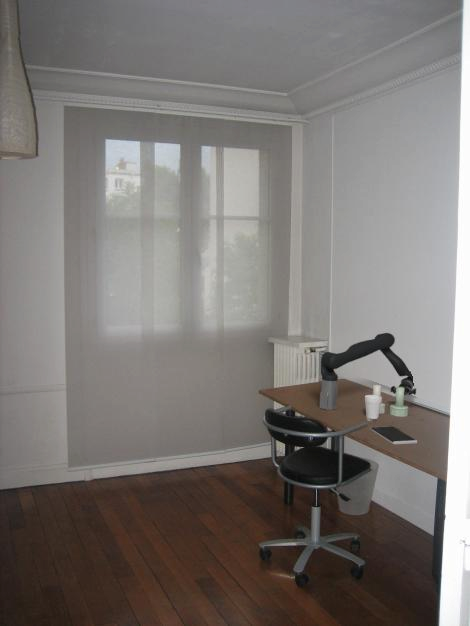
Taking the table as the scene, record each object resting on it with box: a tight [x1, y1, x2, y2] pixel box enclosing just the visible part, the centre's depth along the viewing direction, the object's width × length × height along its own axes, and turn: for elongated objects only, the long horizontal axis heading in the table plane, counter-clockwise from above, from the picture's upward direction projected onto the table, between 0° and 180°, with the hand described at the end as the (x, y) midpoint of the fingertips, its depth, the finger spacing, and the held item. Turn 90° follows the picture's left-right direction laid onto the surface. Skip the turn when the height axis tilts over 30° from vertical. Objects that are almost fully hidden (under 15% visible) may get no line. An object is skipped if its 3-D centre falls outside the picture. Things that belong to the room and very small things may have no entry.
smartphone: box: [369, 425, 418, 445], centre depth 333 cm, size 13×27×2 cm, turn 14°
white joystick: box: [372, 383, 386, 415], centre depth 374 cm, size 10×10×17 cm
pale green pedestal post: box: [389, 386, 409, 418], centre depth 369 cm, size 10×10×17 cm
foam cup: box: [364, 394, 383, 422], centre depth 362 cm, size 10×9×13 cm
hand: (401, 392), depth 376 cm, fingers open, 8 cm apart
